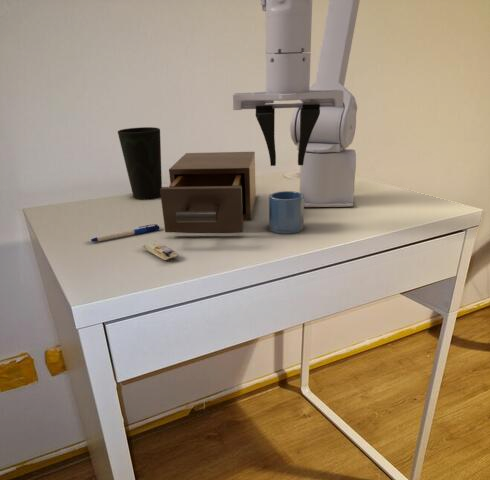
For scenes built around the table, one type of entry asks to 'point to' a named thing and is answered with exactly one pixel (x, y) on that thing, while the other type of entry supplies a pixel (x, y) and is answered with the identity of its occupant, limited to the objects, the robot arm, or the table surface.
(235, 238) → the table surface
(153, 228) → the ballpoint pen
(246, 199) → the cabinet
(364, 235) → the table surface
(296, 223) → the small cup
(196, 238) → the table surface
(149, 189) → the cup
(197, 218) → the drawer
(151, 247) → the granola bar
